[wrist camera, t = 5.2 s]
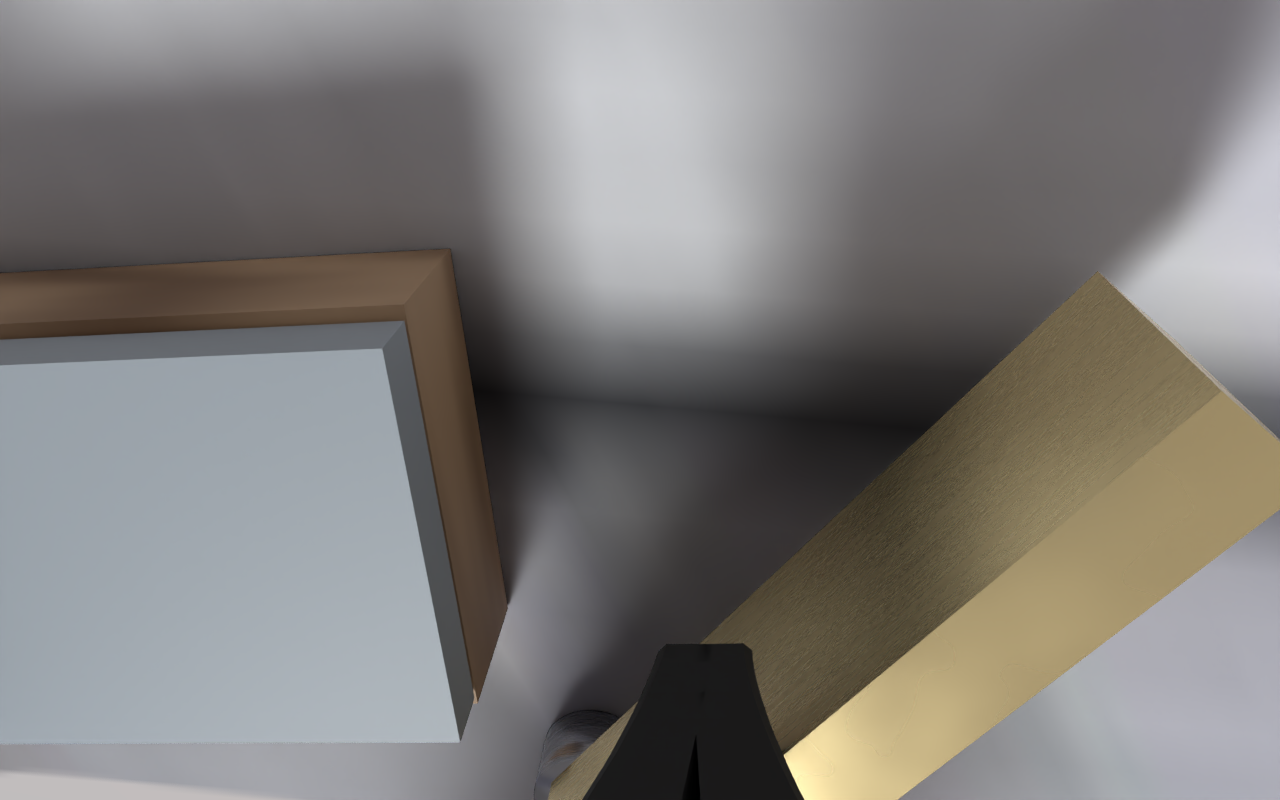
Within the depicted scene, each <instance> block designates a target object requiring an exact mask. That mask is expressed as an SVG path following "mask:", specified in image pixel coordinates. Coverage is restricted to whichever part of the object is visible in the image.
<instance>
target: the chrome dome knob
mask: <svg viewBox="0 0 1280 800" xmlns="http://www.w3.org/2000/svg"><path fill="white" fill-rule="evenodd" d="M618 719H619V717H616V716H614V715H611V714H609V713H605V712H600V711H580V712H575V713H572V714H569V715H566V716H564V717H563V718H561V719H559V720H558V721H557V722H555V723H554V724H553V726H552V727H551V728H550V730H549V731H548V733H547V736H546V739H545V744H544V748H543V753H542V757H541V762H540V766H539V771H538V775H537V780H536V784H535V789H534V800H548V797H549V792H550V787H551V782H552V781H553V780H554V779H555V778H556V777H557V776H559V775H560V774H561V773H562V772H563V771H564V770H565V769H566V768H567V767H568V766H569V765H570V764H571V763H572V762H573V761H575V760H576V759H577V758H578V757H579V756H580V755H581V754H582V753H583V752H584V751H585V750H586V749H587V748H588V747H590V746H591V745H592V744H593V743H594V742H595V741H596V740H597V739H598V738H599V737H600V736H601V735H602V734H603V733H604V732H606V731H607V730H608V729H609V728H610V727H611V726H612V725H613V724H614V723H615V722H616V721H617V720H618Z"/></svg>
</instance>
